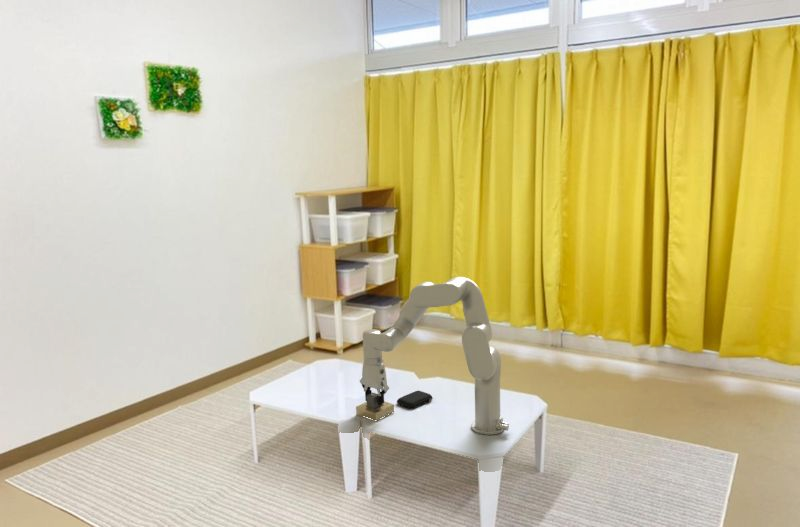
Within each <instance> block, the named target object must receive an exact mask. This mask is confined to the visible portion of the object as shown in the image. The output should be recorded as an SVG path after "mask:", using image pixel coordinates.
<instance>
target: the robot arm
mask: <svg viewBox="0 0 800 527" xmlns="http://www.w3.org/2000/svg"><path fill="white" fill-rule="evenodd" d="M460 301H461V304H462V311H463V316H464V320H465V323H466V324H465V325H466V327H465V329H464V330H463V333H462V335H461V345H462V349H463V353H464V356H465V360H466V365H467V368H468V371H469V373H470V375H471V376H472V377H473V378H474V419H475V420H473V421H472V422H471V424H470V428H471V429H472V431H473V432H475V433H477V434H481V435H486V436H487V435H488V436H489V435H490V436H491V435H492V436H493V435H498V434H500V433H502V432H503V431H506V432H508V431H509V428H510V427H509V426H510V424H509V423H508V422H505V421H504V417H503V416H501V371H502V370H501V369H502V358H501V355H500V352H499V351H498V349H496V348H495V347H493V346H490V344H489V343H490V341H491V339H492V337H493V330H492V327H491V322H490V318H489V315H488V311H487V308H486V304H485V300H484V297H483V293H482V291H481V289H480V287H479V286H478V285H477V284H476V283H475V282H474V281H473V280H471V279H470V278H467V277H463V276H455V277H451V278H450V279H448V280H447V281H445V282H443V283H434V282H432V281H422V282H420V283H419V284H417V285H415V286H414V287H413V288H412V289H411V291H410V292H409V297H408V299H407V300H406V301H405V302H404V304H402V306H401V307H400V315H399V316H398V318H397V319H396V320H395V322H394V323H393V325H392V326H391V327H390V328H388V329H387V330H385V331H384V332H381V331H380V330H378V329H375V328H373V329H371V328H369V329H366V330H364V331H363V333H362V348H363V349H362V352H363V363H362V368H361V369H362V370H361V373H362V374H361V376H362V378H360V379H359V383H360V385H361V387H362V388H363V392H364V393H365V402H367V400H366V396H367V395H369V394H371V393H373V392H372V391H373V390H372V389H375V390H376V392H377V394H378V395H379V396H377V398H378V405H381V404H383V403H384V401H385V394H386V393H387V392H388V390H390V387H389V385H388V381H387V372H386V367H385V363H384V360H383V352H384V353H385V352H387V353H389V352H392V351H393V350H395V349H396V348H397V347H398V346H400V345H401V344H403V342H404V341H405V339H406V338H407V337H408V336H409V334H410V333H411V332H412V331H413V329H414V328H415V327H416V325H417V324H418V322H420V320H421V319H422V317H424V315H425V313H426V312H427V311H428V309H431V308H439V307H440V308H441V307H448V306H449V307H450V306H454V305H456V304H457V303H459V302H460Z"/></svg>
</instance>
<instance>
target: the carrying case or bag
mask: <svg viewBox="0 0 800 527" xmlns="http://www.w3.org/2000/svg"><path fill="white" fill-rule="evenodd" d="M432 400H433V396H432V394H430V393H427V392H424V391H422V390H416V391H412V392H411V393H407V394H405V395H404V396H401V397H399V398H398V399H396V403H397V405H399V406H401V405H402V407H403V406H404V408H406V407H407V409H409V408H410V409H409V410H411V409H412V408H413V409H415V408H417V406H418V407H420V406H422V405H425V403H430V402H432Z"/></svg>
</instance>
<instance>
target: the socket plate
mask: <svg viewBox="0 0 800 527" xmlns="http://www.w3.org/2000/svg"><path fill="white" fill-rule="evenodd" d="M355 410H356V412H355V413H356V416H359V417H361V416H365V417H368V418H371V419H373V420H378V419H380V418H382V417H384V416H386V415H388V414H390V413H392V412H394V413H395V405H394V403H392V402H391V403H390V402H388V401H385V400H384V403H383V404H381V407H379V408H377V409H372V408H369V407H367V401H365V402H363V403H361V404H359V405H356V406H355ZM392 414H393V413H392ZM390 415H391V414H390ZM388 416H389V415H388ZM386 417H387V416H386ZM384 418H385V417H384ZM382 419H383V418H382ZM373 420H372V421H373ZM380 420H381V419H380ZM378 421H379V420H378Z"/></svg>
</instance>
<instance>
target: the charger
mask: <svg viewBox="0 0 800 527" xmlns="http://www.w3.org/2000/svg"><path fill="white" fill-rule="evenodd" d="M377 396H379V395H378V393H376V392H372V393H371V394H369V395H367V396H366V399H365V401H366V400H367V401H366V402H367V407H369V408H372V409H377V408H379V407H381V405H378V398H377Z"/></svg>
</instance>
